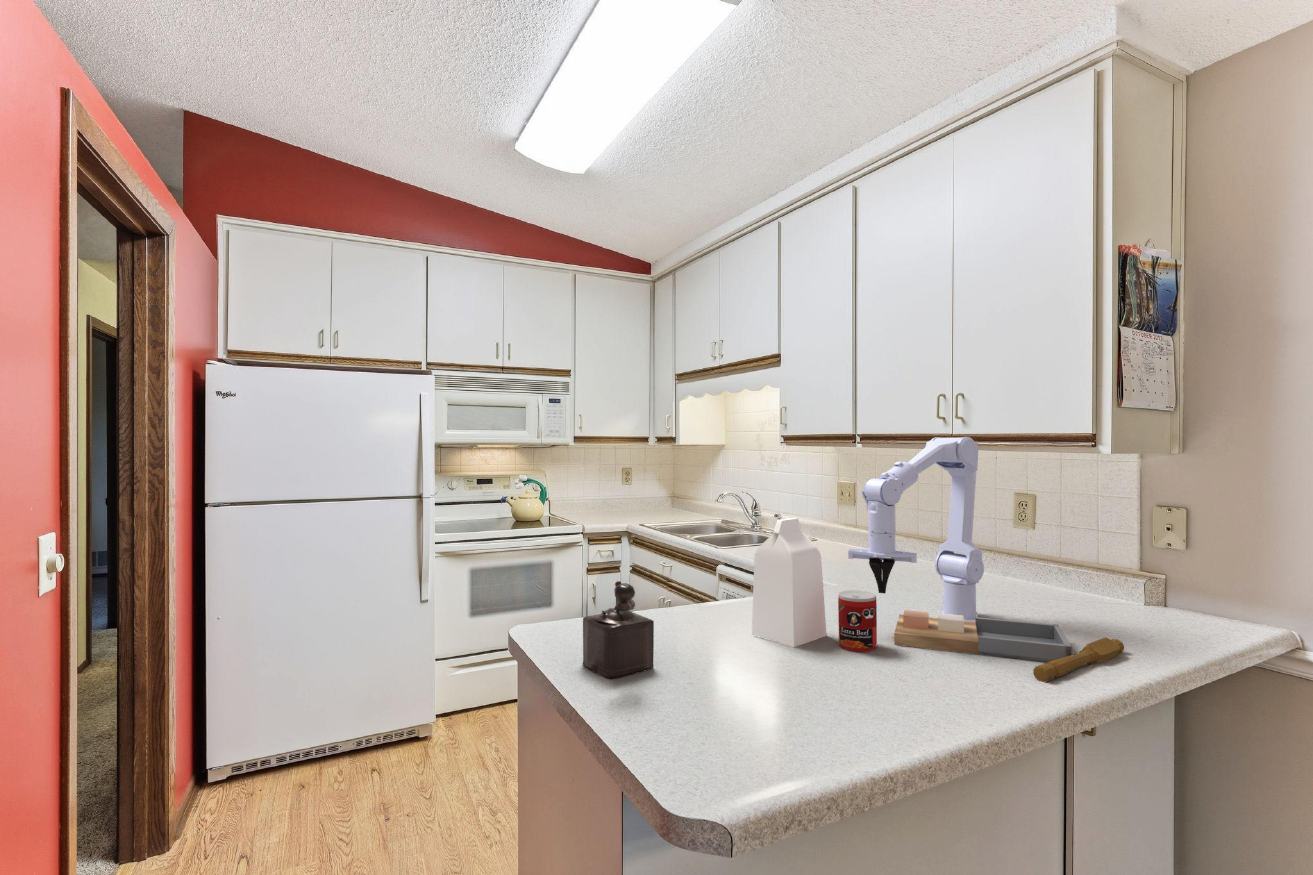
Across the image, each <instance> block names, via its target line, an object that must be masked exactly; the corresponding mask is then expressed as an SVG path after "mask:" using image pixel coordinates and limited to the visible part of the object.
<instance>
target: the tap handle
mask: <svg viewBox="0 0 1313 875" xmlns="http://www.w3.org/2000/svg"><path fill="white" fill-rule="evenodd" d="M1124 650H1125V645H1124V643H1123V642H1122V641H1121V640H1119V639H1117V638H1111V639H1110V638H1108V637H1106V636H1105V637H1103V638H1100V639H1097V640H1095V641H1091V642H1088V643H1086V645H1085V646H1084V647H1083V648H1082V649H1081V650H1080V651H1079V652H1078V653H1076V654H1075V653H1074V654H1072V655H1071V656H1067V657H1063V658H1060V659H1056V660H1053V661H1050V662H1043V663H1041V664H1038V665H1036V666H1034V668H1033V669H1032V673H1033V676H1034V677H1035V679H1036V681H1039V682H1042V683H1046V682H1050V681H1051V680H1054V679H1057V678H1058V677H1062V676H1065V675H1067V674H1068V673H1070V672H1072V671H1075V670H1076V669H1078V668H1080V667H1083V666H1085V665H1091V664H1095V665H1096V664H1099V663H1102V662H1104V661H1107V660H1109V659H1112V658H1114V657H1117V656H1118V655H1119V654H1121V653H1123V652H1124Z"/></svg>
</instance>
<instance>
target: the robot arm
mask: <svg viewBox="0 0 1313 875" xmlns="http://www.w3.org/2000/svg"><path fill="white" fill-rule="evenodd" d="M979 449H980V448H979V446H978V444H977V443H976V441H974V439H973V438H972V437H970V436H963V437H938V436H936V437H933V438H931V440H928V441H927V442H926V443H925V447H924V448H923V449H922V450H920V452H918V453H917V454H916V455H915V456H914V457H913V458H912V459H910V460H909V461H908V462H907V461H896V462H894V463H893V467H891V468H890V469H888V470H887V471H886V472H885V471H884V472H882V473H881V474H880V476H878V478H870V479H869V480H868V481H867V482H865V484H864V486H863V490H862V491H861V495H862V498H863V500H864V502H865V508H866V510H867V514H868V515H867V517H868V519H867V520H868V525H867V526H868V548H848V550H847V555H848V556H847V557H848V559H851V560H853V559H858V560H862V559H863V560H869V561H868V565H869V567H870V570H871V572H872V574H873V575H874V579H875V581H876V584H877V589H878V590H877V592H878V594H886V593H887V585H888V582H889V577H890V575H891V572H892V569H893V567H894V566H895V562H905V563H912V564H914V563H915V564H917V562H918V558H917V557H918V554H917V552H908V551H902V550H896V504H898V503H899V501H900V500H901V496H902V494H904V492H905V491H906V490H907V489H909V488H910V487H911V486H913V485H914V484H916V483H917V482H918V479H919V474H921V473H922V472H924V471H925V470H927V469H929V468H930V467H932V466H933V465H935V464H936V465H937V466H939V467H940V468H942V469H943V470H944V471H946V472H948V473H949V475H950V476H951V487H950V499H949V516H948V528H947V529H948V532H947V540H946V541H944V542H942V543H941V544H940V545H939V546H938V552H937V555H936V558H935V560H934V561H935V562H934V567H935V571H936V573H937V574H938V575H939V578H940V580H942V592H943V594H942V598H943V606H942V607H943V608H941V613H943V614H954V615H963V616H964V621H974V622H975V617H979V615H978V611H977V586H976V585H977V584H979V582H980V580H981V579H982V578H983V576H984V572H985V567H984V561H983V552H982V550H981V549H980V548H979V547H978V546H977V545H975V544H974V543H973V530H974V529H973V528H974V514H975V512H974V511H975V502H976V501H975V498H976V481H977V471H978V464H979Z"/></svg>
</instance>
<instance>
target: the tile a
mask: <svg viewBox="0 0 1313 875" xmlns="http://www.w3.org/2000/svg"><path fill="white" fill-rule="evenodd" d="M902 615H903V627H909V628H919V629H928V626H929V615H930V613H929V612H928V611H921V610H920V611H919V610H908V609H904V611H903V614H902Z"/></svg>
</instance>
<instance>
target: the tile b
mask: <svg viewBox="0 0 1313 875" xmlns="http://www.w3.org/2000/svg"><path fill="white" fill-rule="evenodd" d="M937 616H938V617H937V618H938V631H948V632H958V633H964V616H963V615H954V614H943V613H942V612H940V613H938V614H937Z"/></svg>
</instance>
